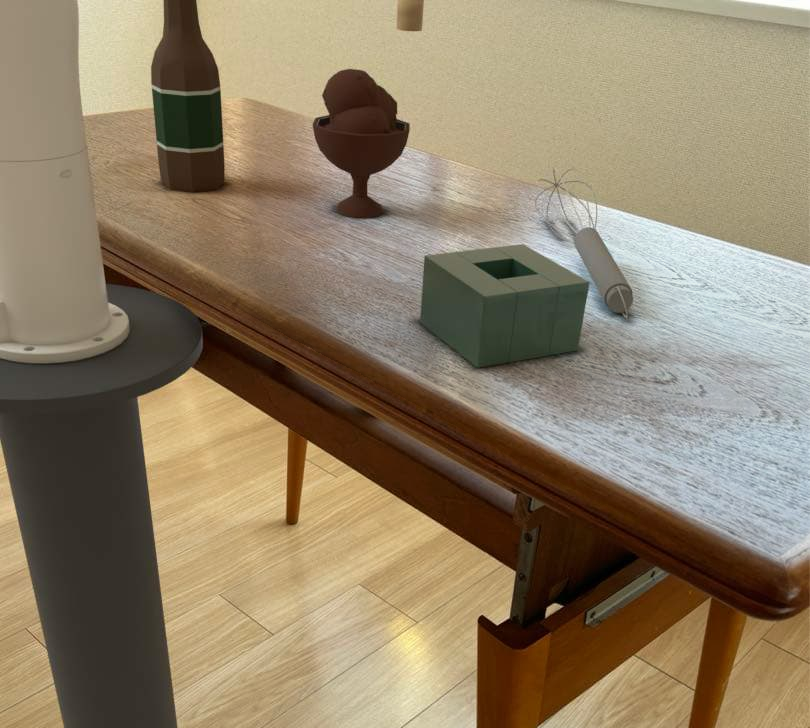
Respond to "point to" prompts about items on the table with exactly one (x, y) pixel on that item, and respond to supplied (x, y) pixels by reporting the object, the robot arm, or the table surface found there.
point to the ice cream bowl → (359, 134)
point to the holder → (502, 304)
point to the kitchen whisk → (595, 256)
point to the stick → (410, 15)
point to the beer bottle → (187, 103)
